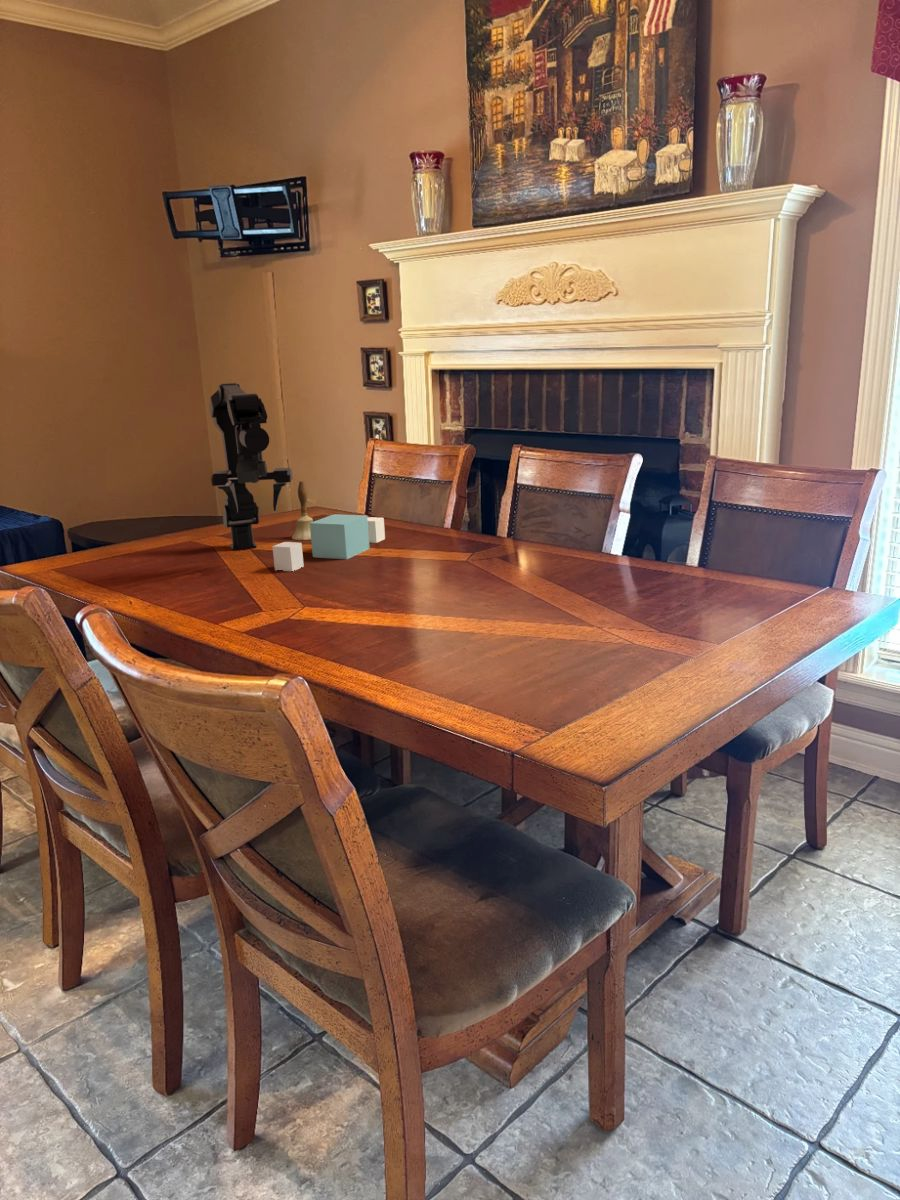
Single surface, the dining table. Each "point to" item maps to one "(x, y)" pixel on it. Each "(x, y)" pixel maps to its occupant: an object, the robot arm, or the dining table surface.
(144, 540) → the dining table surface
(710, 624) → the dining table surface
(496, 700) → the dining table surface
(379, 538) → the cream block
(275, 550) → the white block
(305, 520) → the hand bell
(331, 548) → the teal block
